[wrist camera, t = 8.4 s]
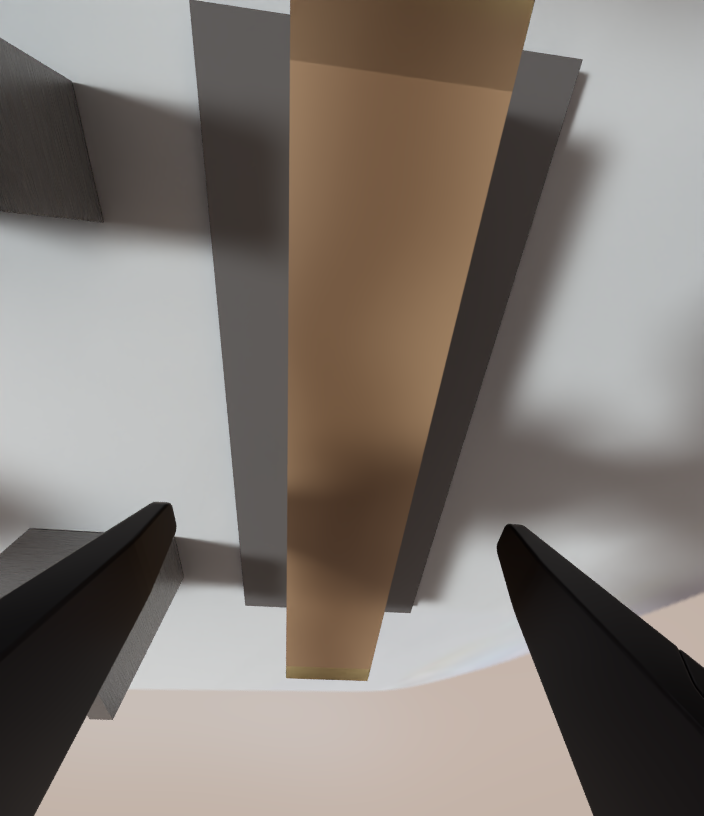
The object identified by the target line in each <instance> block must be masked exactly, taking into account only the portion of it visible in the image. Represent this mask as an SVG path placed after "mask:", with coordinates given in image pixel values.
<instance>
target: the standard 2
mask: <svg viewBox="0 0 704 816" xmlns="http://www.w3.org/2000/svg"><path fill="white" fill-rule="evenodd" d="M101 534H103V533H92V532H75V531H57V530H40V529H28V530H27V531H26V532H25V533H24V534H23V535H21V536H20V537H19V538H18V539H17V540H16V541H15V542H13V543H12V544H11V545H10V546H9V547H8V548H7V549H5V550H4V551H3V552H2V553H1V554H0V598H1V597H3V596H4V595H6V594H8V593H9V592H11V591H12V590H14V589H16V588H17V587H19V586H20V585H22V584H23V583H25V582H27V581H28V580H30V579H31V578H33V577H35V576H36V575H38V574H39V573H41V572H43V571H44V570H46V569H47V568H49V567H50V566H52V565H54V564H55V563H57V562H58V561H60V560H62V559H63V558H65V557H66V556H68V555H70V554H71V553H73V552H74V551H76V550H77V549H79V548H81V547H82V546H84V545H85V544H87V543H89V542H90V541H92V540H93V539H95V538H97V537H98V536H100V535H101ZM183 578H184V577H183V572H182V568H181V563H180V559H179V554H178V550H177V546H176V541H175V537H174V538H173V540H172V543H171V545H170V548H169V550H168V553H167V555H166V558H165V560H164V563H163V565H162V567H161V570H160V572H159V575H158V577H157V580H156V582H155V585H154V587H153V589H152V591H151V594H150V596H149V598H148V600H147V602H146V604H145V606H144V608H143V610H142V611H141V613H140V615H139V617H138V619H137V621H136V623H135V625H134V627H133V629H132V630H131V632H130V634H129V636H128V638H127V640H126V642H125V644H124V646H123V648H122V649H121V651H120V653H119V655H118V657H117V659H116V661H115V663H114V665H113V667H112V668H111V670H110V672H109V674H108V676H107V678H106V680H105V682H104V684H103V686H102V687H101V689H100V691H99V693H98V695H97V697H96V699H95V701H94V703H93V705H92V706H91V708H90V710H89V712H88V714H87V716H88V717H89V719H103V720H113V718H114V716H115V714H116V712H117V710H118V708H119V706H120V704H121V702H122V700H123V698H124V696H125V694H126V692H127V690H128V688H129V686H130V684H131V682H132V680H133V678H134V676H135V674H136V672H137V670H138V668H139V666H140V664H141V662H142V660H143V658H144V656H145V654H146V652H147V650H148V648H149V646H150V644H151V642H152V640H153V638H154V636H155V634H156V632H157V630H158V628H159V626H160V624H161V622H162V620H163V618H164V616H165V614H166V612H167V610H168V608H169V606H170V604H171V602H172V600H173V598H174V596H175V594H176V592H177V590H178V588H179V586H180V584H181V582H182V580H183Z"/></svg>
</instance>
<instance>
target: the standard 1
mask: <svg viewBox="0 0 704 816" xmlns="http://www.w3.org/2000/svg"><path fill="white" fill-rule="evenodd" d="M0 211H4V212H13V213H22V214H31V215H40V216H49V217H58V218H67V219H77V220H86V221H95V222H103V219H102V214H101V210H100V205H99V201H98V197H97V192H96V188H95V183H94V179H93V174H92V170H91V166H90V161H89V157H88V152H87V148H86V144H85V139H84V135H83V130H82V126H81V121H80V117H79V113H78V108H77V104H76V99H75V95H74V90H73V86H72V82H71V81H70V80H69V79H67V78H65V77H64V76H62V75H61V74H59V73H57V72H56V71H54V70H52V69H51V68H49V67H47V66H46V65H44V64H42V63H41V62H39V61H38V60H36V59H34V58H33V57H31V56H29V55H28V54H26V53H24V52H23V51H21V50H19V49H18V48H16V47H15V46H13V45H11V44H10V43H8V42H6V41H5V40H3V39H1V38H0Z"/></svg>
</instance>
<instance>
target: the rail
mask: <svg viewBox="0 0 704 816" xmlns="http://www.w3.org/2000/svg"><path fill="white" fill-rule="evenodd" d="M534 2H535V0H290V139H289V301H288V464H287V627H286V678H295V679H325V680H356V681H367V680H368V676H369V672H370V668H371V664H372V660H373V656H374V652H375V648H376V644H377V640H378V636H379V632H380V628H381V624H382V619H383V615H384V611H385V607H386V603H387V599H388V595H389V591H390V587H391V583H392V579H393V575H394V571H395V567H396V563H397V558H398V554H399V550H400V546H401V542H402V538H403V534H404V530H405V526H406V522H407V518H408V514H409V510H410V506H411V502H412V498H413V493H414V489H415V485H416V481H417V477H418V473H419V469H420V465H421V461H422V457H423V453H424V449H425V445H426V441H427V437H428V432H429V428H430V424H431V420H432V416H433V412H434V408H435V404H436V400H437V396H438V392H439V388H440V384H441V380H442V376H443V371H444V367H445V363H446V359H447V355H448V351H449V347H450V343H451V339H452V335H453V331H454V327H455V323H456V319H457V315H458V311H459V306H460V302H461V298H462V294H463V290H464V286H465V282H466V278H467V274H468V270H469V266H470V262H471V258H472V254H473V250H474V245H475V241H476V237H477V233H478V229H479V225H480V221H481V217H482V213H483V209H484V205H485V201H486V197H487V193H488V189H489V184H490V180H491V176H492V172H493V168H494V164H495V160H496V156H497V152H498V148H499V144H500V140H501V136H502V132H503V128H504V124H505V119H506V115H507V111H508V107H509V103H510V99H511V95H512V91H513V87H514V83H515V79H516V75H517V71H518V67H519V63H520V58H521V54H522V50H523V46H524V42H525V38H526V34H527V30H528V26H529V22H530V18H531V14H532V10H533V6H534Z"/></svg>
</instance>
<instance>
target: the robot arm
mask: <svg viewBox="0 0 704 816" xmlns="http://www.w3.org/2000/svg"><path fill="white" fill-rule="evenodd" d="M175 532H176V521H175V516H174V512H173V507H172V505H171V504H170V503H167V502H153V503H151V504H149V505H147V506H146V507H144V508H143V509H141V510H139V511H138V512H136V513H135V514H133V515H131V516H130V517H128V518H127V519H125V520H124V521H122V522H120V523H119V524H117V525H116V526H114V527H112V528H111V529H109V530H108V531H106V532H104V533H103V534H101V535H100V536H98V537H97V538H95V539H93V540H92V541H90V542H89V543H87V544H85V545H84V546H82V547H81V548H79V549H77V550H76V551H74V552H73V553H71V554H70V555H68V556H66V557H65V558H63V559H62V560H60V561H58V562H57V563H55V564H54V565H52V566H50V567H49V568H47V569H46V570H44V571H43V572H41V573H39V574H38V575H36V576H35V577H33V578H31V579H30V580H28V581H27V582H25V583H23V584H22V585H20V586H19V587H17V588H16V589H14V590H12V591H11V592H9V593H8V594H6V595H4V596H3V597H1V598H0V816H34V815H35V813H36V811H37V809H38V807H39V805H40V803H41V801H42V800H43V797H44V796H45V794H46V792H47V790H48V788H49V786H50V784H51V782H52V780H53V779H54V776H55V775H56V773H57V771H58V769H59V767H60V765H61V763H62V762H63V760H64V758H65V756H66V754H67V751H68V750H69V748H70V746H71V744H72V743H73V741H74V739H75V737H76V735H77V733H78V731H79V729H80V727H81V725H82V724H83V722H84V720H85V718H86V716H87V714H88V712H89V710H90V708H91V706H92V705H93V703H94V701H95V699H96V697H97V695H98V693H99V691H100V689H101V687H102V686H103V684H104V682H105V680H106V678H107V676H108V674H109V672H110V670H111V668H112V667H113V665H114V663H115V661H116V659H117V657H118V655H119V653H120V651H121V649H122V648H123V646H124V644H125V642H126V640H127V638H128V636H129V634H130V632H131V630H132V629H133V627H134V625H135V623H136V621H137V619H138V617H139V615H140V613H141V611H142V610H143V608H144V606H145V604H146V602H147V600H148V598H149V596H150V594H151V591H152V589H153V587H154V585H155V582H156V580H157V577H158V575H159V572H160V570H161V567H162V565H163V563H164V560H165V558H166V555H167V553H168V550H169V548H170V545H171V543H172V540H173V538H174V536H175ZM497 554H498V557H499V561H500V564H501V568H502V571H503V575H504V578H505V582H506V585H507V589H508V592H509V596H510V599H511V603H512V606H513V609H514V612H515V615H516V617H517V620H518V623H519V625H520V628H521V630H522V633H523V636H524V638H525V641H526V643H527V646H528V649H529V651H530V654H531V656H532V659H533V661H534V663H535V667H536V669H537V672H538V674H539V677H540V679H541V682H542V685H543V687H544V690H545V692H546V695H547V697H548V700H549V702H550V705H551V708H552V710H553V713H554V715H555V718H556V720H557V723H558V726H559V728H560V731H561V733H562V736H563V739H564V741H565V744H566V746H567V749H568V751H569V754H570V757H571V759H572V761H573V764H574V767H575V769H576V772H577V775H578V777H579V780H580V782H581V785H582V787H583V790H584V792H585V795H586V798H587V800H588V803H589V805H590V808H591V811H592V813H593V816H704V667H702V666H701V665H700V664H698V663H697V662H696V661H695V660H693V659H692V658H691V657H690V656H688V655H687V654H686V653H684V652H683V651H682V650H678V648H677V646H676V645H674V644H673V643H672V642H670V641H669V640H668V639H667V638H665V637H664V636H663V635H662V634H660V633H659V632H658V631H657V630H655V629H654V628H653V627H651V626H650V625H649V624H648V623H646V622H645V621H644V620H643V619H641V618H640V617H639V616H638V615H636V614H635V613H634V612H633V611H631V610H630V609H629V608H627V607H626V606H625V605H624V604H622V603H621V602H620V601H619V600H617V599H616V598H615V597H614V596H612V595H611V594H610V593H608V592H607V591H606V590H605V589H603V588H602V587H601V586H600V585H598V584H597V583H596V582H595V581H593V580H592V579H591V578H590V577H588V576H587V575H586V574H584V573H583V572H582V571H581V570H579V569H578V568H577V567H576V566H574V565H573V564H572V563H571V562H569V561H568V560H567V559H565V558H564V557H563V556H562V555H560V554H559V553H558V552H557V551H555V550H554V549H553V548H552V547H550V546H549V545H548V544H546V543H545V542H544V541H543V540H541V539H540V538H539V537H538V536H536V535H535V534H534V533H533V532H531V531H530V530H529V529H527V528H526V527H525V526H523V525H519V524H507V525H506V526H505V528H504V530H503V532H502V534H501V537H500V539H499V541H498V543H497Z"/></svg>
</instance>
